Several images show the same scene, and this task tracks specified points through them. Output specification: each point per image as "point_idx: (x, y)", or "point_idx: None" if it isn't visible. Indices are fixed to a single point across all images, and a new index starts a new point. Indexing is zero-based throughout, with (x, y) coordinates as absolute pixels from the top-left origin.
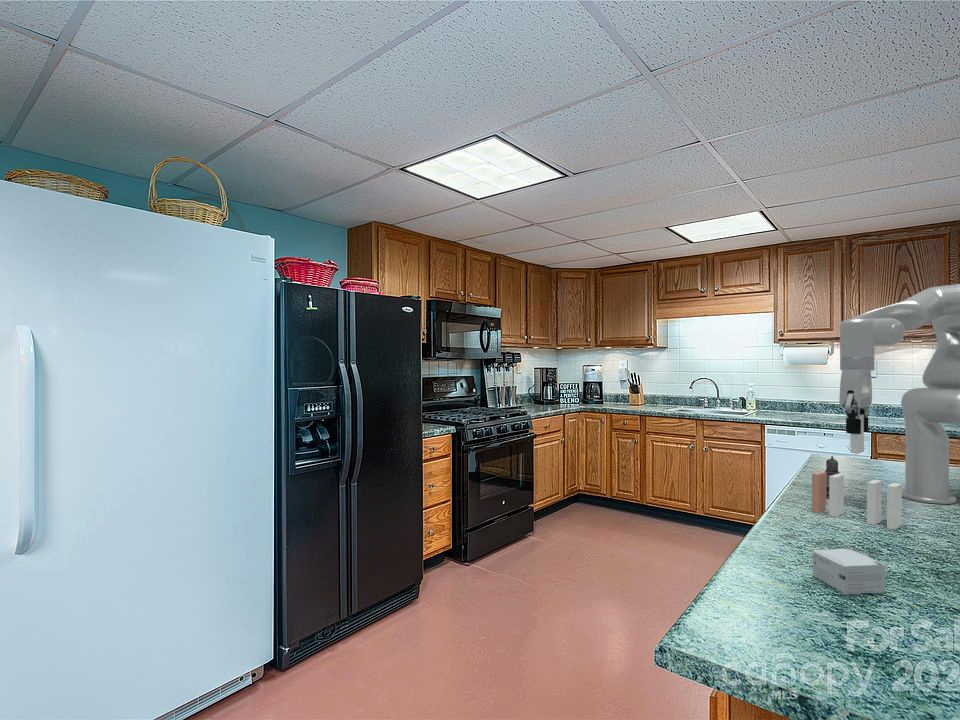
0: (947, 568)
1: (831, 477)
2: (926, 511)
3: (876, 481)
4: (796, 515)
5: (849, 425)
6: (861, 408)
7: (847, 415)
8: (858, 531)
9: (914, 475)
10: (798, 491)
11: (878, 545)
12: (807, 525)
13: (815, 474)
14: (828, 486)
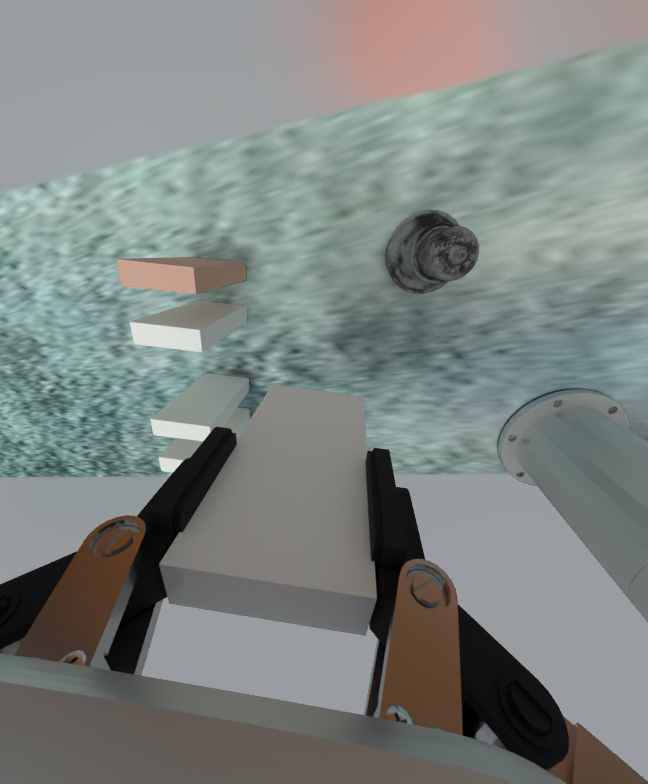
0: (83, 474)
1: (133, 327)
2: (408, 443)
3: (188, 434)
4: (124, 236)
5: (168, 483)
6: (487, 717)
7: (60, 559)
8: (135, 370)
9: (566, 460)
10: (435, 127)
11: (89, 406)
12: (73, 284)
13: (120, 272)
14: (388, 251)
